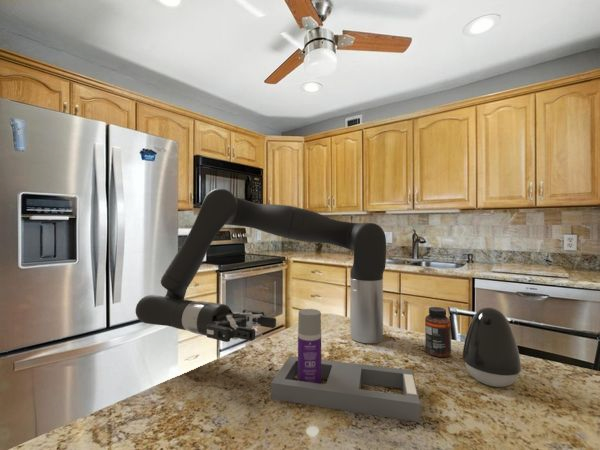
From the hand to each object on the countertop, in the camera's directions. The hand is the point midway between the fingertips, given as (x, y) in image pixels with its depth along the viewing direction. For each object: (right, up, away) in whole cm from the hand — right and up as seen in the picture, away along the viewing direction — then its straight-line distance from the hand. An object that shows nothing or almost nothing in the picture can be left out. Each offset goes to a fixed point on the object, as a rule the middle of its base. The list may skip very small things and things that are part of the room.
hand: (265, 328), depth 64 cm
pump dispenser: (+47, -10, -2) cm, 48 cm away
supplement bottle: (+43, -10, +12) cm, 45 cm away
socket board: (+16, -10, -6) cm, 20 cm away
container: (+9, -10, -4) cm, 15 cm away
